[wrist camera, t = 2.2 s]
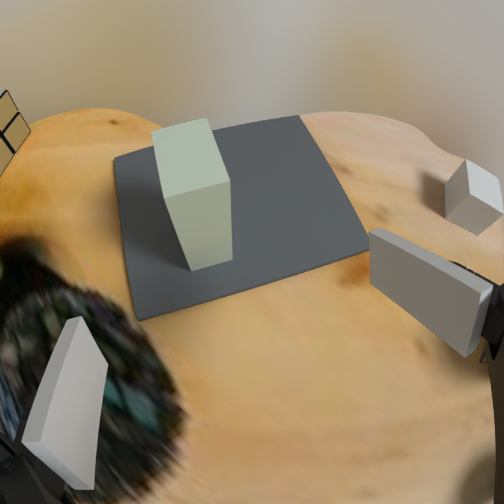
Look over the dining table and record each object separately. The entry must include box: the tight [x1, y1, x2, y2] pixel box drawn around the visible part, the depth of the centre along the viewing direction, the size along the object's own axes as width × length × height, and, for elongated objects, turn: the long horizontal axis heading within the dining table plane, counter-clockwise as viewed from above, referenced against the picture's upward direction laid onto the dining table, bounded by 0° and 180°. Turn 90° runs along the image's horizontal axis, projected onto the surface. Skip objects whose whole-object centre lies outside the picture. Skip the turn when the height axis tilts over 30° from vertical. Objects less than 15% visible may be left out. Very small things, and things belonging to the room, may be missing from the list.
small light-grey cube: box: [445, 159, 504, 236], centre depth 31 cm, size 6×6×6 cm
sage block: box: [151, 118, 233, 271], centre depth 24 cm, size 4×6×12 cm, turn 19°
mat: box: [114, 115, 369, 321], centre depth 32 cm, size 24×20×1 cm
